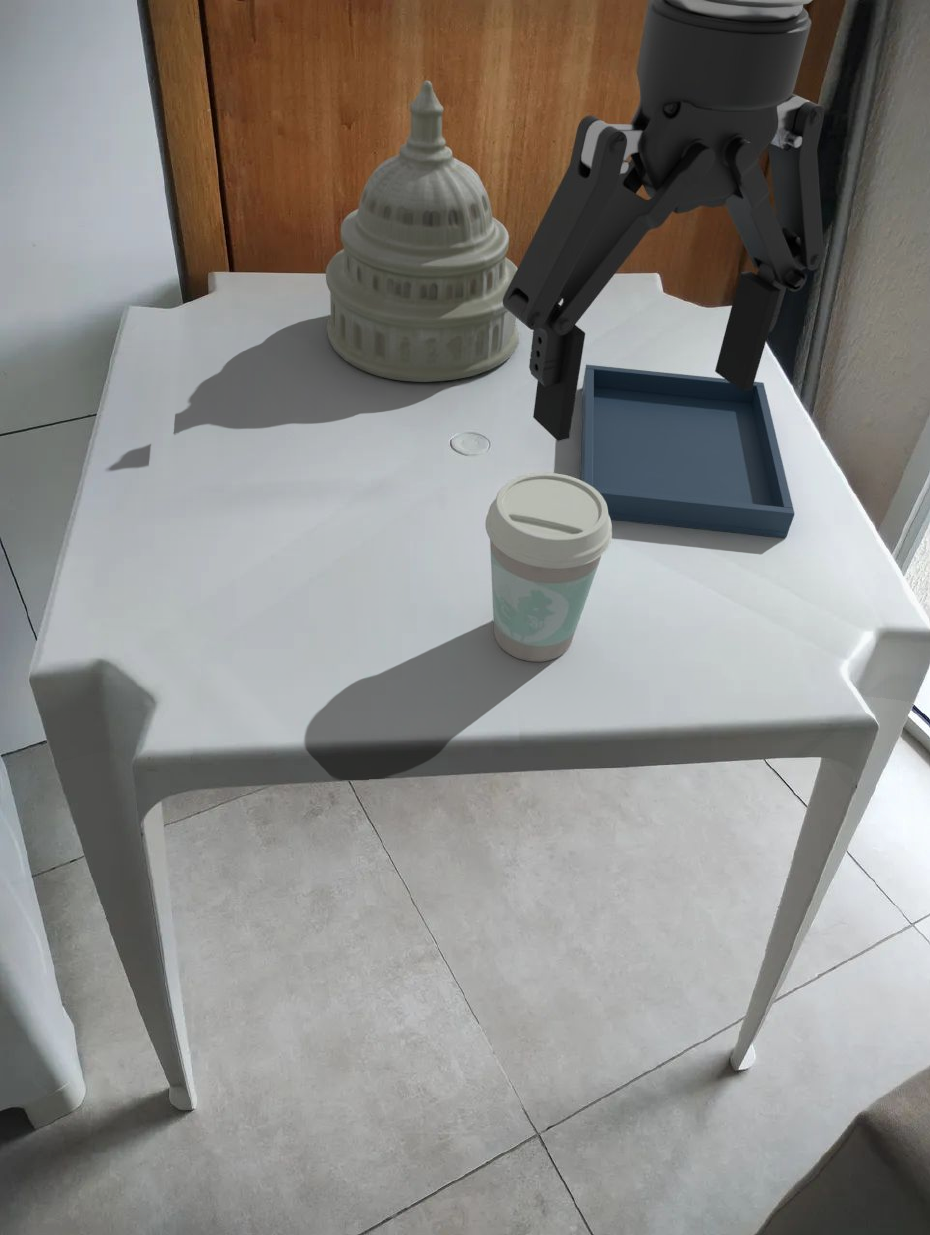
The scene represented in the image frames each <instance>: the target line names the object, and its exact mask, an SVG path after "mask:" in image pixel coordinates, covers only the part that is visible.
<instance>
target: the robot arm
mask: <svg viewBox="0 0 930 1235" xmlns="http://www.w3.org/2000/svg"><path fill="white" fill-rule="evenodd" d="M812 1H813V0H648V1H647V4H646V11H645V16H644V22H643V27H642V28H643V29H642V33H641V34H642V35H641V41H640V45H639V46H640V47H639V52H638V59H637V64H636V75H637V81H638V88H639V104H638V106H637V109H636V112H635V113H634V115H633V117H632V119H631V121H630V123H627V124H626V123H607V122H605V121H604V120H602V119H600V118H598V117H596V116H595V115H592V114H591V115H590V114H589V115H586V116H585V117H583V118H582V119H581V120H580V122H579V123H578V126H577V128H576V132H575V138H574V141H573V142H574V143H573V147H572V152H571V157H570V161H569V165H568V167H567V169H566V171H565V173H564V175H563V177H562V179H561V181H560V183H559V185H558V187H557V189H556V191H555V193H554V195H553V197H552V199H551V201H550V202H549V205H548V207H547V209H546V211H545V213H544V215H543V217H542V219H541V221H540V223H539V225H538V227H537V229H536V231H535V233H534V235H533V236H532V239H531V241H530V243H529V245H528V247H527V249H526V251H525V253H524V255H523V257H522V259H521V261H520V263H519V265H518V267H517V268H518V269H517V271H516V273H515V275H514V277H513V279H512V281H511V283H510V285H509V287H508V289H507V291H506V293H505V295H504V298H503V305H504V307H505V308H506V309H507V310H508V311H509V312H511V313H512V314H513V315H514V316H515V317H516V319H517V320H519V321H520V322H521V323H522V324H523V325H525V326H526V327H527V328H528V329H530V330H532V339H531V348H530V358H529V365H528V368H529V372H530V374H531V376H532V377H534V378H535V379H536V380H537V383H536V392H535V400H534V408H533V415H532V418H533V419H534V420H535V421H536V422H538V424H539V425H540V426H541V427H542V428H544V429H545V431H547V432H548V433H549V434H550V435H551V436H552V437H553V438H554V440H556V441H557V442H560V441H561V442H562V441H564V440H568V439H570V436H571V429H572V423H573V415H574V409H575V402H576V396H577V390H578V384H579V379H580V378H579V377H580V371H581V364H582V358H583V351H584V346H585V338H586V332H585V331H584V330H583V329H581V328H580V327H578V326H577V323H578V322H579V320H580V319H581V318H582V317H583V316H584V314H585V313H586V312H587V310H588V309H589V307H590V306H591V305H592V304H593V303H594V301H595V300H596V299H597V298H598V296H599V295H600V294H601V293H602V291H603V290H604V289H605V287H606V286H607V285H608V283H609V282H610V281H611V279H612V278H613V277H614V276H615V275H616V273H617V272H618V271H619V269H620V268H621V267H622V265H623V264H624V263H625V262H626V260H627V259H628V258H629V256H630V255H631V254H632V253H633V251H634V250H635V249H636V247H637V246H638V245H639V244H640V242H641V241H642V240H643V239H644V237H645V236H646V235H647V233H648V232H649V231H651V230H654V229H658V228H660V227H661V226H663V224H664V223H665V222H666V221H667V219H668V218H669V216H670V215H671V214H672V213H675V214H676V215H677V214H678V215H679V214H683V213H689V212H691V211H693V210H695V209H698V208H700V207H705V208H706V207H707V208H718V207H719V208H720V207H724V206H725V208H726V210H727V212H728V214H729V216H730V218H731V220H732V223H733V225H734V226H735V229H736V231H737V233H738V235H739V237H740V240H741V242H742V245H743V246H744V248H745V251H746V252H747V255H748V257H749V258H750V262H751V263H752V265H753V267H754V269H755V270H757V272H756V273H754V272H752V270H747V271H743V272H740V273H739V277H738V281H737V285H736V288H735V293H734V297H733V301H732V304H731V307H730V312H729V316H728V319H727V323H726V326H725V331H724V336H723V339H722V342H721V346H720V350H719V353H718V358H717V363H716V365H715V369H714V372H715V373H716V374H717V375H719V376H720V377H722V378H723V379H726V380H727V381H729V382H730V383H731V384H733V385H734V386H735V387H737V388H738V389H739V390H741V391H742V392H744V391H748V390H752V388H753V384H754V382H756V381H755V380H756V377H757V373H758V371H759V367H760V365H761V364H760V362H761V359H762V356H763V352H764V350H765V347H766V342H767V339H768V336H769V333H771V332H772V331H773V330H774V328H775V327H776V326H775V325H776V324H777V321H778V317H779V314H780V312H781V307H782V304H783V301H784V297H785V293H786V291H787V290H789V291H791V292H793V293H796V292H798V291H800V290H801V289H802V288H803V287H804V285H805V284H806V282H807V279H808V274H807V273H806V272H804V271H803V270H805V269H807V270H808V271H814V270H817V269H818V268H819V267H820V266H821V265H822V264H823V261H824V258H825V247H824V234H823V233H824V232H823V219H822V205H821V204H822V203H821V202H822V201H821V189H820V187H821V186H820V175H819V174H820V172H819V159H818V158H819V157H818V147H819V142H820V137H821V132H822V128H823V123H824V119H825V118H824V117H825V108H824V107H823V106H822V105H820V104H818V103H815V102H813V101H811V100H808V99H806V98H804V97H802V96H799V95H797V94H795V93H793V92H794V90H795V88H796V84H797V80H798V79H797V78H798V75H799V73H800V68H801V64H802V60H803V57H804V54H805V48H806V45H807V41H808V37H809V33H810V30H811V27H812V19H811V18H810V16H809V13H808V11H807V9H805V7H804V5H807V4H810V3H811V2H812ZM767 149H768V158H769V168H770V176H771V186H772V192H773V193H771V189H770V187H769V184H768V182H767V179H766V177H765V174H764V172H763V169H762V168H761V167H762V166H761V164H760V158H761V157H762V156H763V154H764V153H765V152H766V150H767ZM629 158H630V159H631V160H629V161H628V159H629ZM642 187H643V189H644V192H645V193H646V195H647V196H648V197H649V199H645V198H643V197H642V196H641V195H639V194H637V192H638V191H639V190H640V189H641V188H642ZM771 194H772V195H773V202H774V203H773V204H774V208H773V206H772V204H771V201H770V198H769V196H770V195H771ZM561 301H562V303H561ZM560 303H561V304H560Z"/></svg>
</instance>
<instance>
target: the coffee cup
mask: <svg viewBox="0 0 930 1235" xmlns="http://www.w3.org/2000/svg"><path fill="white" fill-rule="evenodd" d="M612 525H613V524H612V519H610V516H609V514H608V508H607V504H606V502H605V500H604V498H603V497H602V495H601V494H600V493H599V492H598V491H597V490H596V489H595V488H593V487H592V486H590V485H589V484H587V483H585V482H583V481H581V480H580V478H576V477H574V476H570V475H567V474H561V473H554V472H534V473H528V474H523V475H520V476H517V477H515V478H513V479H511V480H509V481H508V482H506V483H505V484H504V485H502V487H501V488H500V489H499V491H498V492H497V495H496V496H495V499H494V500H493V501H492V502H491V504H490V505H489V509H488V511H487V515H486V517H485V531H486V534H487V536H488V538H489V541H490V542H489V548H490V550H489V551H490V569H491V570H490V572H491V595H492V596H491V597H492V615H493V634H494V639H495V640H496V642H497V644H498V646H499V647H500V648H501V649H502V650H503V651H504V652H505V653H507V654H508V655H510V656H512V657H514V658H517V659H518V660H522V661H527V662H536V663H537V662H538V663H539V662H540V663H541V662H547V661H552V660H555V659H557V658H559V657H562V655H564V654H565V653H566V652H567V651H568V650H569V648H570V647H571V644H572V642H573V639H574V636H575V633H576V630H577V628H578V625H579V622H580V619H581V616H582V614H583V611H584V607H585V604H586V601H587V600H588V596H589V593H590V591H591V587H592V585H593V583H594V579H595V576H596V572H597V570H598V568H599V565H600V561H601V558H602V556H603V555H604V554H605V553H606V551H607V550H608V549H609V547H610V545H611V543H612V539H613V526H612Z"/></svg>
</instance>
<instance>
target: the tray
mask: <svg viewBox="0 0 930 1235" xmlns="http://www.w3.org/2000/svg"><path fill="white" fill-rule="evenodd" d="M581 389H582V390H581V422H580V423H581V424H580V425H581V427H580V428H581V430H580V464H579V465H580V466H579V467H580V468H579V480H581V481H583V482H585V483H587V484H589V485H590V486H592V487H593V488H595V489H596V490H597V491H598V492H599V493H600V494H601V495H602V497H603V498H604V500H605V502H606V504H607V508H608V514H609V516H610V519H611V520H614V521H622V522H632V523H641V524H652V525H659V526H660V525H661V526H670V527H679V528H690V529H698V530H707V531H708V530H709V531H716V532H724V533H725V532H726V533H735V534H745V535H752V536H753V535H754V536H763V537H764V536H765V537H773V538H782V539H787V537H788V534H789V531H790V528H791V525H792V523H793V520H794V517H795V509H794V506H793V505H794V504H793V501H792V498H791V493H790V489H789V485H788V480H787V476H786V472H785V467H784V463H783V458H782V454H781V451H780V447H779V442H778V438H777V434H776V430H775V425H774V421H773V417H772V412H771V409H770V405H769V400H768V395H767V392H766V391H767V390H766V387H765V383H764V382H763V381H754V384H753V388H752V390H748V391H744V392H742V391H741V390H739V389H738V388H737V387H735V386H734V385H733V384H731V383H730V382H729V381H727V380H726V379H725V378H723V377H722V378H721V377H713V376H712V377H711V376H701V375H692V374H683V373H675V372H673V373H671V372H664V371H653V370H643V369H633V368H623V367H614V366H604V365H596V364H595V365H593V364H585V368H584V374H583V380H582V388H581Z"/></svg>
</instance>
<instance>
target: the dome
mask: <svg viewBox="0 0 930 1235" xmlns="http://www.w3.org/2000/svg"><path fill="white" fill-rule="evenodd" d="M408 107H409V112H410V134H409V135H408V137H407V138H406V142H405V143H403V144H402V145H401V146H400V147H399V152H398V154H397V155H394V156H392V157H390V158H387V159H386V160H384V161H383V162H382V163H380V164H379V165H378V166H377V167H376V168H375V169H374V171H373V172H372V174H370V176H369V178H368V180H367V182H366V183H365V185H364V187H363V190H362V192H361V195H360V199H359V203H358V208H357V209H355V210H353V211H352V212H350V213H349V214H348V215H346V216H345V217H344V219H343V221H341V222H342V223H341V226H340V240H341V243H342V245H343V248H342V249H340V250H339V251H338V252H337V253H336V254H334V255H333V256H332V257H331V259H330V260H329V262H328V263H327V266H326V268H325V282H326V286H327V288H328V290H329V293H330V296H329V297H330V299H329V300H330V316H329V318H328V319H327V323H326V333H327V338H328V341H329V344H330V345H331V347H332V349H333V350H334V352H335V353H336V354H337V355H338V356H339V357H341V359H342V360H344V361H345V362H347V363H348V364H350V365H351V366H353V367H354V368H357V369H358V370H361V371H363V372H366V373H368V374H371V375H373V376H377V377H381V378H383V379H389V380H396V381H403V382H413V383H414V382H415V383H433V382H446V381H454V380H455V381H456V380H460V379H465V378H470V377H473V376H478V375H479V374H482V373H485V372H488V371H490V370H492V369H495V368H496V367H498V366H500V365H502V364H504V363H505V362H506V361H507V360H508V359H509V358H511V356H512V355H514V353H515V352H516V349H517V348H518V345H519V330H518V327H517V324H516V322H517V318H516V317H515V316H514V315H513V314H512V313H511V312H509V311H508V310H507V309H506V308H505V307H504V305H503V298H504V295H505V293H506V291H507V289H508V287H509V285H510V283H511V281H512V279H513V277H514V275H515V273H516V271H517V269H518V267H517V265H516V264H515V263H514V262H513V261H511V259H509V258H507V257H506V255H507V253H508V250H509V244H510V243H509V242H510V234H509V232H508V230H507V228H506V227H505V226H504V224H503V223H502V222H500V221H499V220H498V219H496V218H495V217H493V211H492V206H491V201H490V198H489V194H488V192H487V189H486V188H485V186H484V184H483V182H482V180H481V178H480V176H479V174H478V173H477V172H476V171H475V170H474V169H473V167H471V166H470V165H468V164H467V163H465V162H463V161H460V160H459V159H458V158H456V157H454V155H453V150H452V149H451V148H450V147H448V146H446V144H447V142H446V139H445V138H444V136H443V114H444V111H445V110H444V106H443V105H442V104H441V103H440V100H439V99H438V97H437V95H436V94H435V91H434V86H433V83H432V82H431V81H430V80H424V81H423V82H422V84H421V88H420V90H419V92H418V94H417V95H416V97H415V99H414V100H412V101H411V102H410V104H409V106H408Z"/></svg>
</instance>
